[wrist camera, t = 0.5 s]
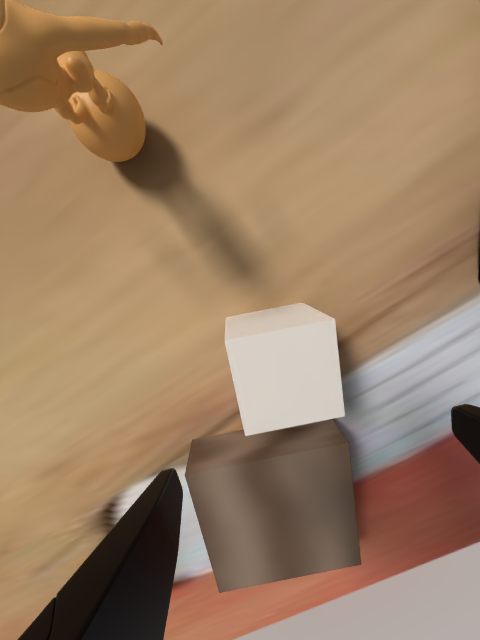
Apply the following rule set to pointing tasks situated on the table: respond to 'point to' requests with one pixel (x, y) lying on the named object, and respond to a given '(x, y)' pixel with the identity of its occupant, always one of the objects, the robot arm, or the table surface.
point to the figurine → (72, 75)
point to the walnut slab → (274, 503)
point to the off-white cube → (284, 367)
